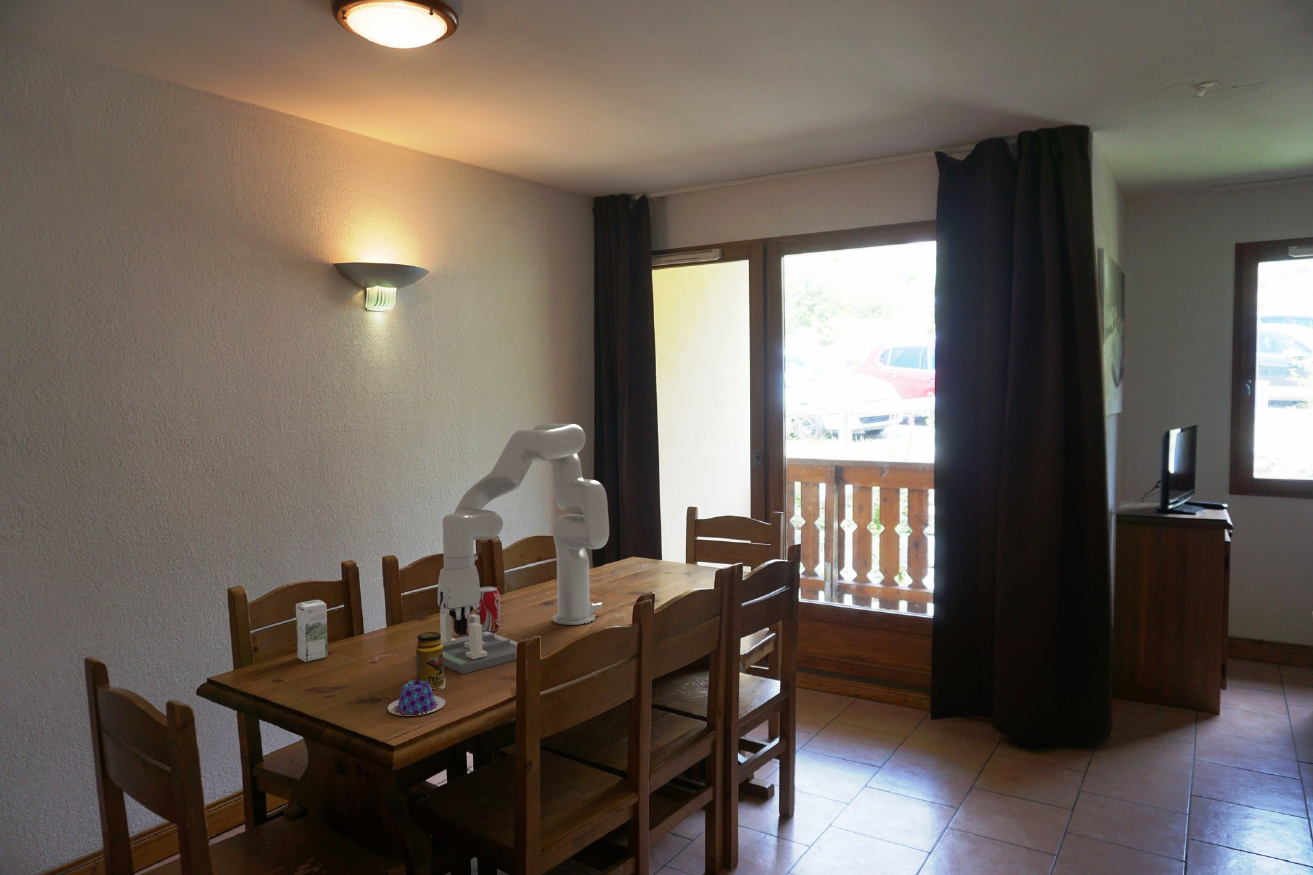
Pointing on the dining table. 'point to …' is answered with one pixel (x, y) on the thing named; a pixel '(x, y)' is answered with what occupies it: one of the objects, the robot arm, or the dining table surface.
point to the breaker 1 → (446, 629)
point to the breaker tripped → (472, 619)
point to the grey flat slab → (496, 651)
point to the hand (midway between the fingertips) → (460, 633)
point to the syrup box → (311, 630)
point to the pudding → (416, 699)
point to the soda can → (489, 609)
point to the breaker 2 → (476, 642)
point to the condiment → (430, 660)
